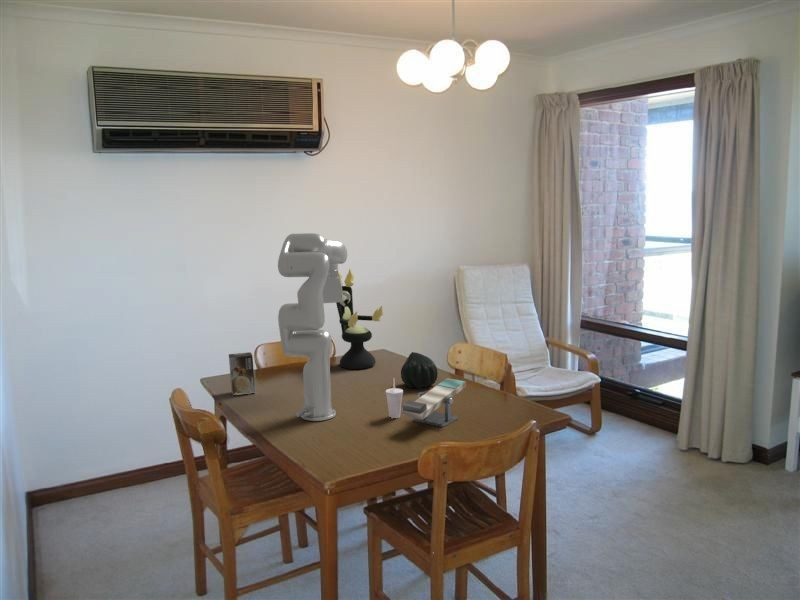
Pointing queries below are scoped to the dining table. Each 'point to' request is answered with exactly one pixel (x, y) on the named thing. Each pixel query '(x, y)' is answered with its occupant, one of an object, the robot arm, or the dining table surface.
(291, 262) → the robot arm
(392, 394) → the smoothie
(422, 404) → the beam
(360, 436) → the dining table surface
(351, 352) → the toy throne chair
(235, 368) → the coffee box
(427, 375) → the squash
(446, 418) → the pivot stand
